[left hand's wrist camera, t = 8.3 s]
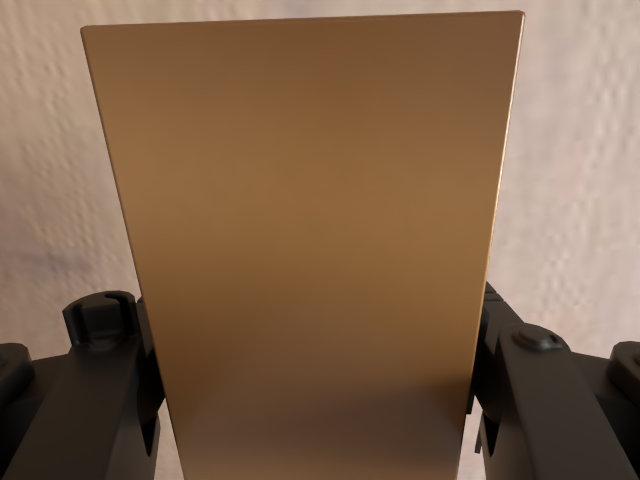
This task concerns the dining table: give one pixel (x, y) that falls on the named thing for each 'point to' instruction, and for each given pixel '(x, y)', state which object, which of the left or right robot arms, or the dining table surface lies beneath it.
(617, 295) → the dining table surface
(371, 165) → the beam
